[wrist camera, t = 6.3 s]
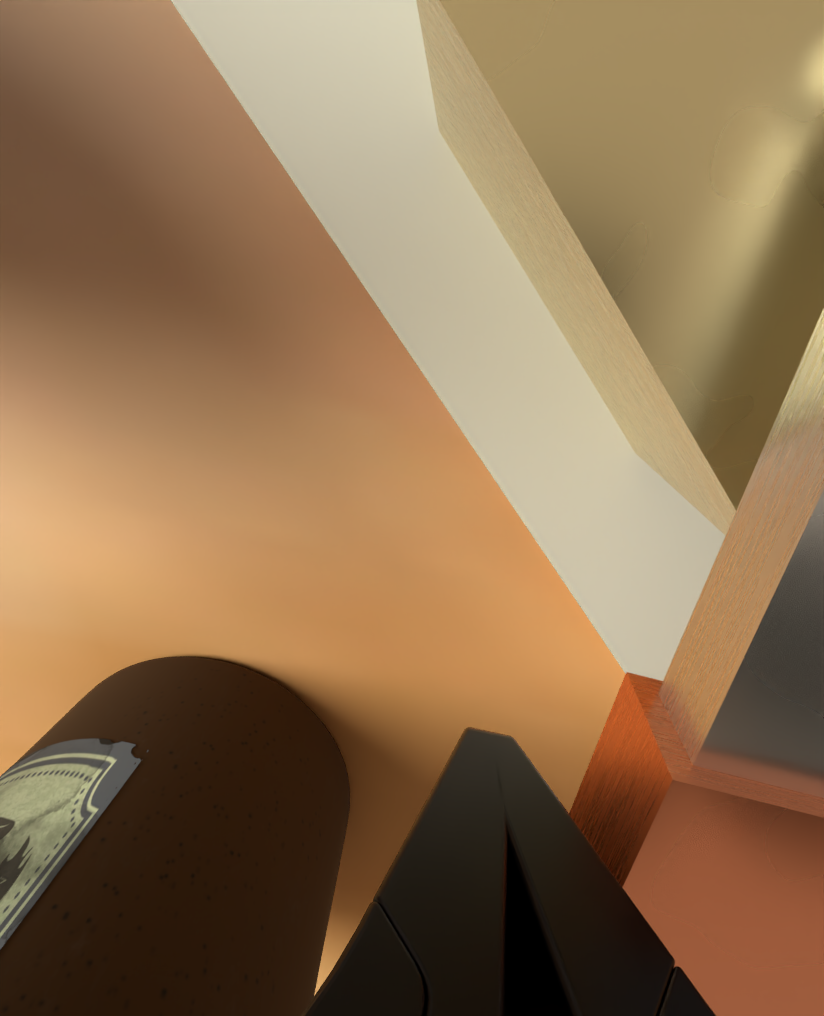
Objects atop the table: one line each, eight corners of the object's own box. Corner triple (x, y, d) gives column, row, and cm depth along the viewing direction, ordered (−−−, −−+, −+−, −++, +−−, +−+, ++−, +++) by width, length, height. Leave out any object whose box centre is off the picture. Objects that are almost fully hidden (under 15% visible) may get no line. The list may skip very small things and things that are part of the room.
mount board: (698, 770, 19) (716, 808, 17) (41, -207, 13) (-13, -271, 11) (1236, 527, 15) (1314, 551, 14) (680, -971, 9) (719, -1203, 8)
